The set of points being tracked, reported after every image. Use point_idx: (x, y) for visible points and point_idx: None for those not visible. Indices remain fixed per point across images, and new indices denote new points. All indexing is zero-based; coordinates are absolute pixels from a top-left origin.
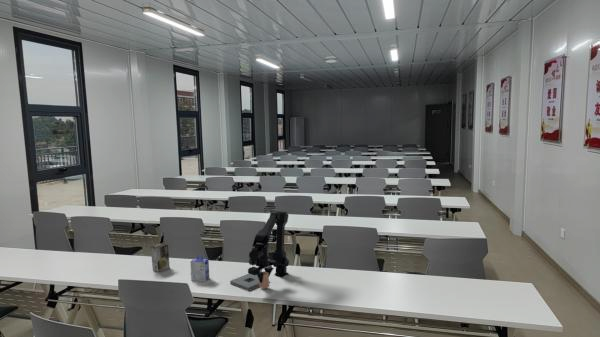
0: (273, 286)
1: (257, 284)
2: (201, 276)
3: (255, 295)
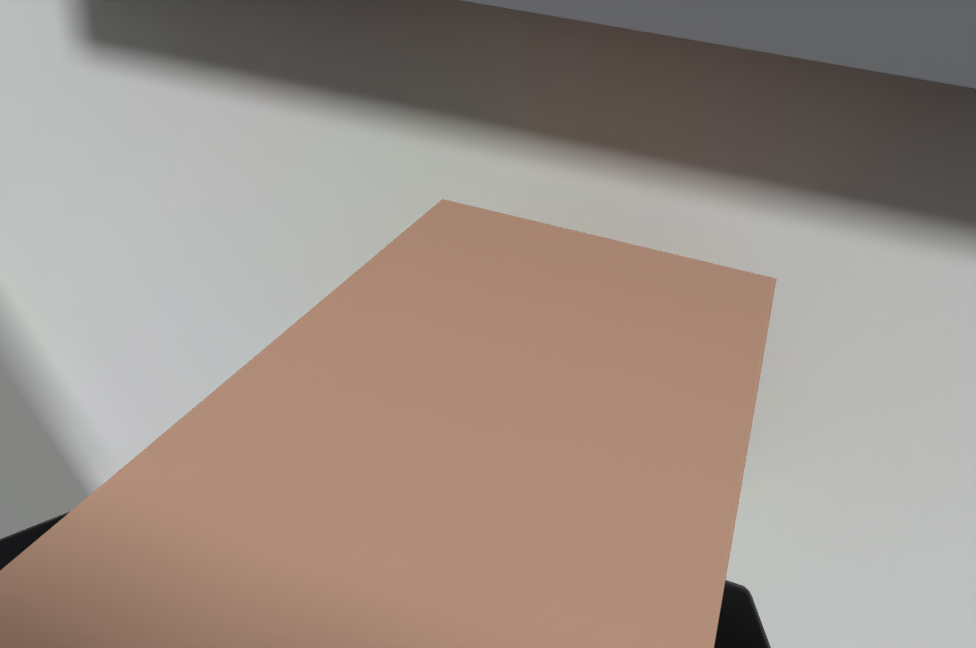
0: (928, 586)
1: (533, 6)
2: None
3: (77, 346)
